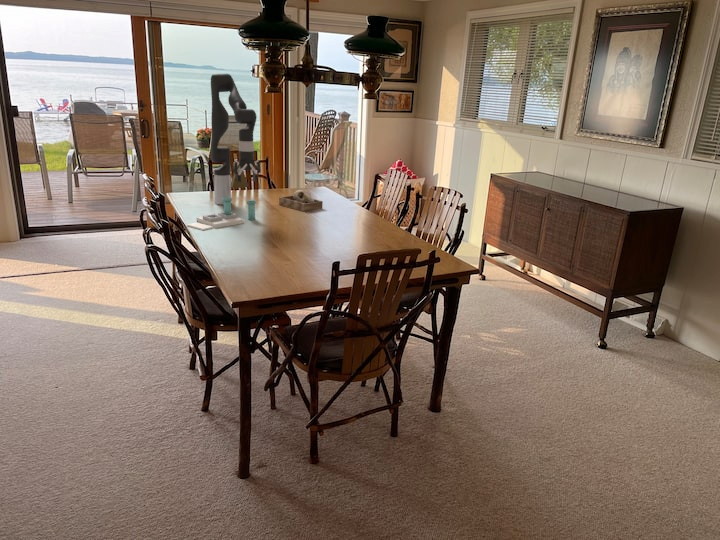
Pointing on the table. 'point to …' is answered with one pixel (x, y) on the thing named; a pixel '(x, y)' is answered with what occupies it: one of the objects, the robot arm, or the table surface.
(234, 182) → the pyramid
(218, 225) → the housing
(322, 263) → the table surface
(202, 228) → the lid
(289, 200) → the brown wooden tray
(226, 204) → the teal flared handle
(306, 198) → the animal skull replica
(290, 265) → the table surface
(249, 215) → the teal round-knobbed peg
